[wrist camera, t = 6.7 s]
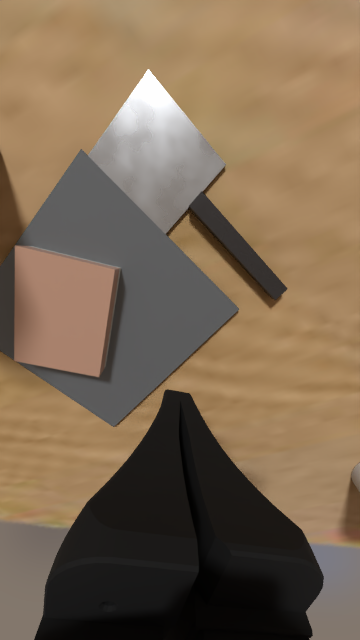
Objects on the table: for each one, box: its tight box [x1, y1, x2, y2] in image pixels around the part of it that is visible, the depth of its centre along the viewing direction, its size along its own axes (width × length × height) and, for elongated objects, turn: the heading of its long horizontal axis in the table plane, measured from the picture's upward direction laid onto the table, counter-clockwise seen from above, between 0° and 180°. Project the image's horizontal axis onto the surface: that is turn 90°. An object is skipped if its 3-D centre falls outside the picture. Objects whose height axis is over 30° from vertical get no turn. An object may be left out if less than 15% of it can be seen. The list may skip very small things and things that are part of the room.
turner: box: [88, 69, 287, 300], centre depth 17 cm, size 19×7×1 cm, turn 46°
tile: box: [14, 245, 121, 377], centre depth 18 cm, size 2×10×8 cm
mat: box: [0, 149, 239, 427], centre depth 20 cm, size 19×18×1 cm
